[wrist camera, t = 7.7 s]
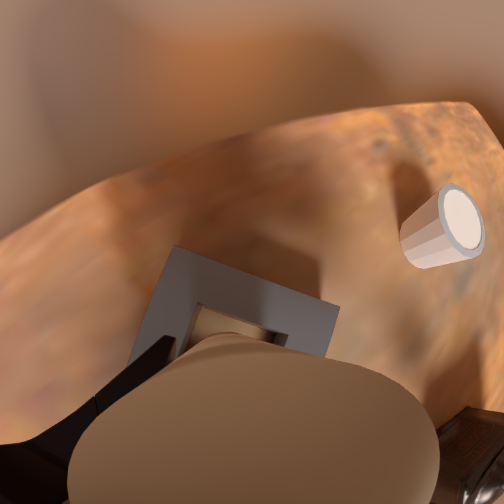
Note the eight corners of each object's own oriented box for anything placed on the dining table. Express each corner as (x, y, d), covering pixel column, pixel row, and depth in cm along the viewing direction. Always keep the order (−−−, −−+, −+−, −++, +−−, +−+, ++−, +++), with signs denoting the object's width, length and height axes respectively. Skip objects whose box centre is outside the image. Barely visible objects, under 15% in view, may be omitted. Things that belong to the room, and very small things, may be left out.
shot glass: (449, 258, 25) (493, 239, 19) (413, 286, 24) (463, 271, 17) (422, 203, 27) (461, 175, 20) (383, 223, 25) (425, 193, 18)
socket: (320, 310, 22) (340, 306, 18) (271, 443, 19) (281, 463, 15) (181, 259, 22) (174, 244, 18) (131, 394, 19) (114, 406, 15)
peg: (282, 367, 15) (477, 459, 2) (229, 420, 14) (268, 622, 1) (226, 315, 15) (265, 250, 2) (172, 369, 14) (18, 491, 1)
